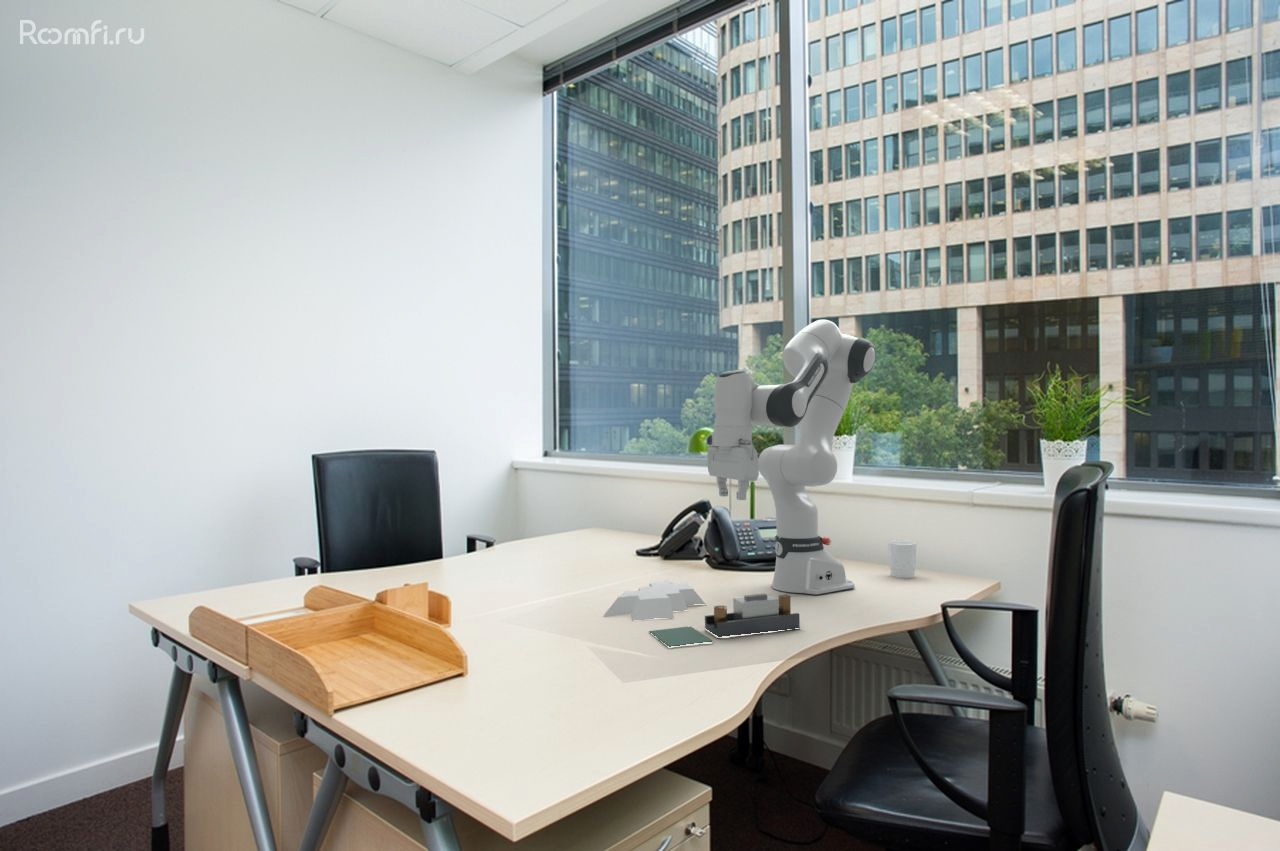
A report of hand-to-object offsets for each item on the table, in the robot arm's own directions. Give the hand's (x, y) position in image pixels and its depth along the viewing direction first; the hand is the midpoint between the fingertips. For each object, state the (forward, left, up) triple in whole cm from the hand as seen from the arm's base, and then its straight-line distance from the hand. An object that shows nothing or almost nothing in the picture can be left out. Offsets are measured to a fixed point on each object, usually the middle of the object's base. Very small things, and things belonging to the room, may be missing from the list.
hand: (732, 498), depth 181 cm
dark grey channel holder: (0, +9, -29) cm, 30 cm away
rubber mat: (+18, +9, -29) cm, 35 cm away
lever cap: (-1, +9, -27) cm, 28 cm away
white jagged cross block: (+12, -17, -30) cm, 36 cm away
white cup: (-67, -24, -29) cm, 77 cm away
